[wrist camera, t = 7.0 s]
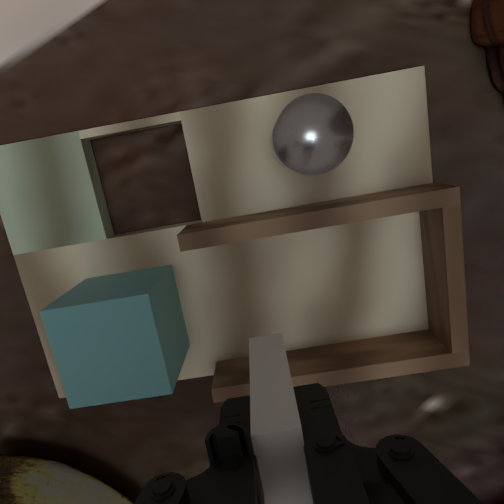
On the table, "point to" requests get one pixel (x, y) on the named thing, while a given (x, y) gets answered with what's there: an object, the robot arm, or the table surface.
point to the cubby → (378, 348)
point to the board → (232, 205)
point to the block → (118, 337)
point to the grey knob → (312, 134)
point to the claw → (51, 483)
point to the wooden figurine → (490, 36)
